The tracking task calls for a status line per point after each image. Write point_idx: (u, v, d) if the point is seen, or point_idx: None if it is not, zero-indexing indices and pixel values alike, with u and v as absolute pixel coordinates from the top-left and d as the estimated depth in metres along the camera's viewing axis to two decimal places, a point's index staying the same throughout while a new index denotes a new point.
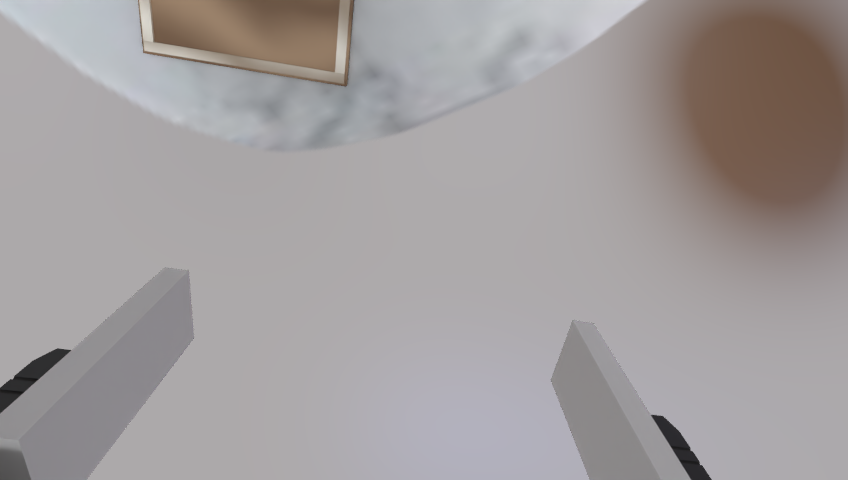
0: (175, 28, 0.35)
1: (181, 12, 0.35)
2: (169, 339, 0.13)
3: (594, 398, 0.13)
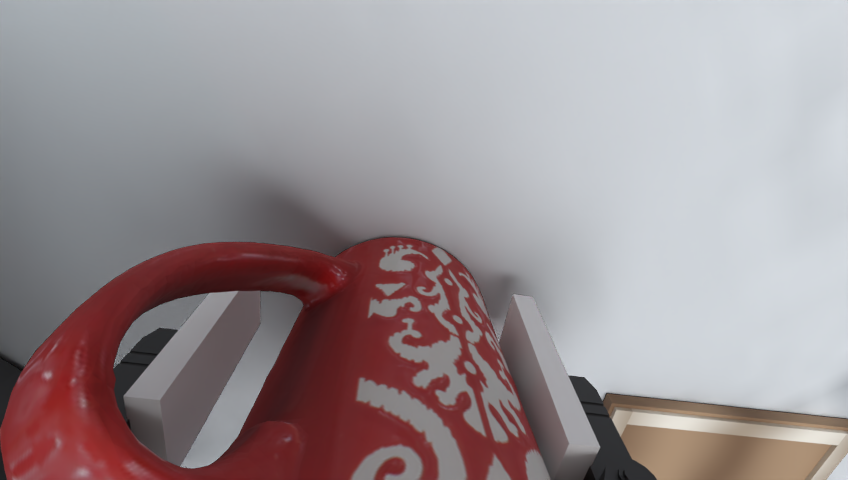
0: None
1: None
2: (246, 322, 0.14)
3: (524, 362, 0.14)
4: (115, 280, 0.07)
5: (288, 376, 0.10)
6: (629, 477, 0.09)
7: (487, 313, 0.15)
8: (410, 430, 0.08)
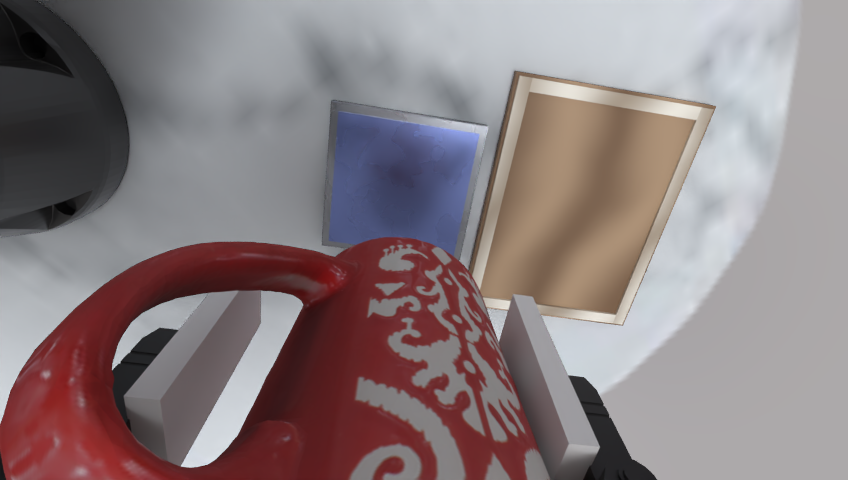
0: (606, 291, 0.33)
1: (593, 283, 0.33)
2: (246, 322, 0.14)
3: (524, 362, 0.14)
4: (114, 280, 0.07)
5: (287, 376, 0.10)
6: (629, 477, 0.09)
7: (487, 313, 0.15)
8: (409, 429, 0.08)
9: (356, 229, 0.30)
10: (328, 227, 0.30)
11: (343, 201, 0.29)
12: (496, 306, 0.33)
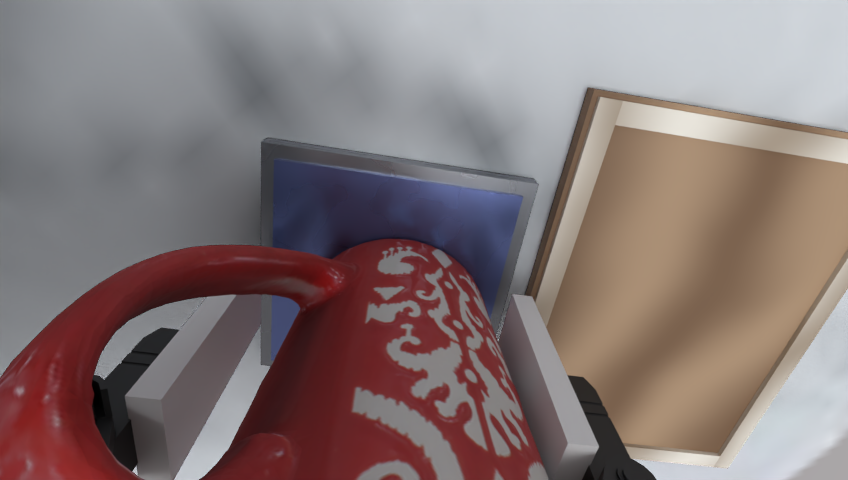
0: (709, 424, 0.21)
1: (689, 414, 0.21)
2: (247, 322, 0.15)
3: (523, 362, 0.14)
4: (97, 287, 0.07)
5: (282, 384, 0.10)
6: (628, 477, 0.09)
7: (488, 317, 0.15)
8: (408, 444, 0.07)
9: None
10: (269, 340, 0.18)
11: (291, 303, 0.18)
12: None
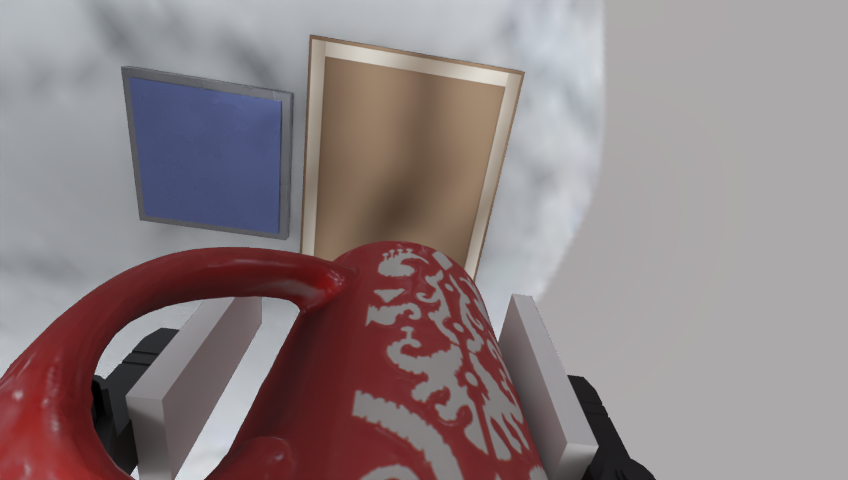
0: None
1: None
2: (247, 322, 0.15)
3: (523, 362, 0.14)
4: (96, 290, 0.07)
5: (282, 387, 0.10)
6: (627, 476, 0.09)
7: (488, 319, 0.15)
8: (408, 448, 0.07)
9: (171, 203, 0.29)
10: (143, 201, 0.29)
11: (152, 173, 0.28)
12: None
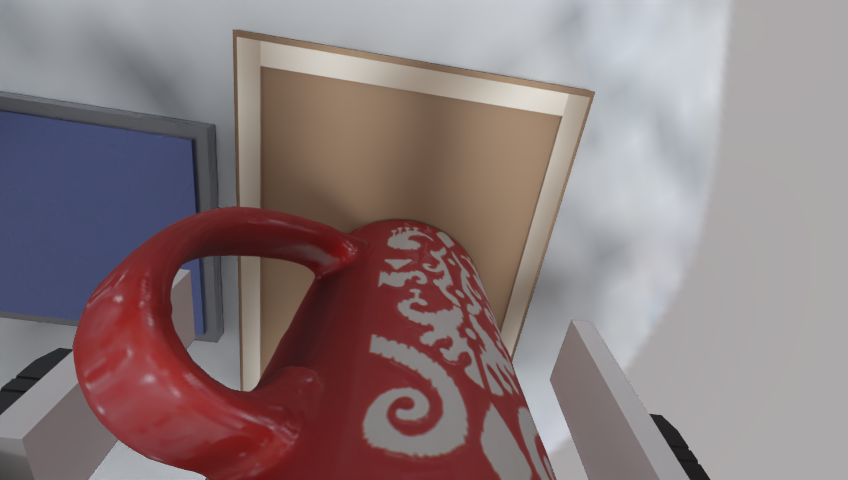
0: None
1: None
2: None
3: (593, 398, 0.13)
4: (167, 228, 0.08)
5: (304, 334, 0.11)
6: None
7: (485, 294, 0.17)
8: (418, 377, 0.09)
9: (34, 292, 0.19)
10: None
11: None
12: None
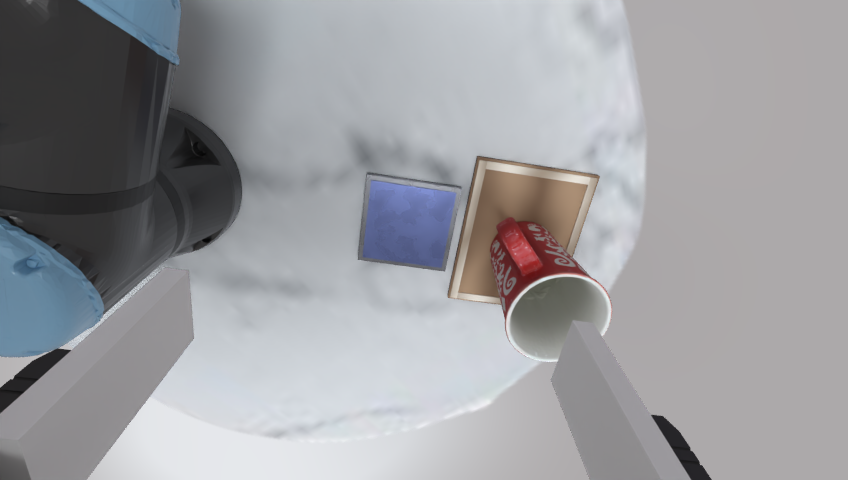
0: None
1: None
2: (169, 339, 0.13)
3: (595, 398, 0.13)
4: (512, 221, 0.37)
5: None
6: None
7: None
8: (561, 257, 0.38)
9: (380, 249, 0.48)
10: (362, 248, 0.48)
11: (372, 233, 0.47)
12: (470, 298, 0.51)
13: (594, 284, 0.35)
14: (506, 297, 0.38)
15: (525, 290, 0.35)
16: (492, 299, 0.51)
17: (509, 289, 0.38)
